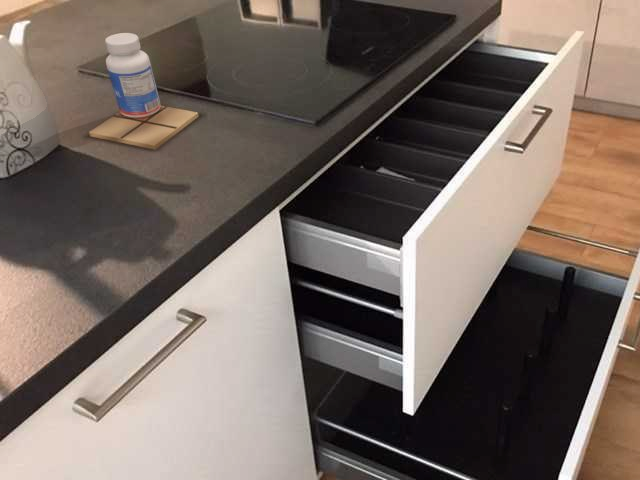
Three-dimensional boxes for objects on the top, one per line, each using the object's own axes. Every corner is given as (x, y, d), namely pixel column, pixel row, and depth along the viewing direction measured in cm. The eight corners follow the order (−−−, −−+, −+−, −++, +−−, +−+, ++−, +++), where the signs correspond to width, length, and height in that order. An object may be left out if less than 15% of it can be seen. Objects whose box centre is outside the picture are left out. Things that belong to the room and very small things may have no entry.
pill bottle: (120, 104, 91) (99, 32, 84) (160, 99, 92) (143, 28, 86) (120, 121, 87) (98, 47, 81) (162, 116, 88) (144, 43, 82)
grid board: (91, 140, 86) (88, 131, 85) (138, 108, 93) (136, 100, 92) (156, 154, 83) (153, 144, 82) (199, 120, 90) (197, 111, 89)
